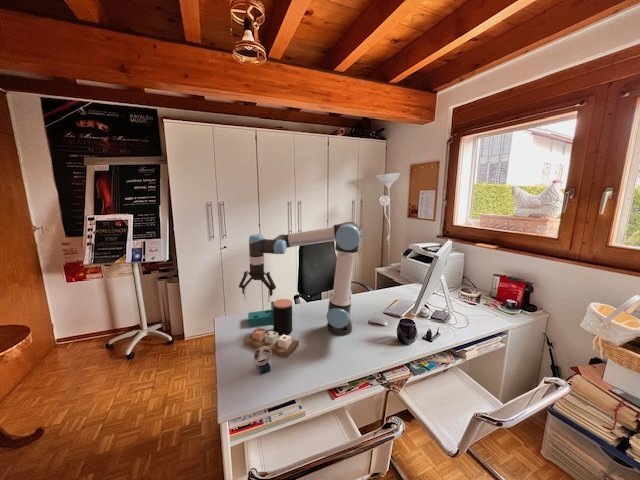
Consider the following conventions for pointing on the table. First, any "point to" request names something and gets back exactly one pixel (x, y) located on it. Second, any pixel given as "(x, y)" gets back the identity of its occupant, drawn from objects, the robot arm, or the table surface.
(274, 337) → the die
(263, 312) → the teal l-shaped bracket
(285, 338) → the die
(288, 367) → the table surface
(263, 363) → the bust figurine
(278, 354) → the wooden dice tray
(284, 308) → the coffee jar
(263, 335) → the die
